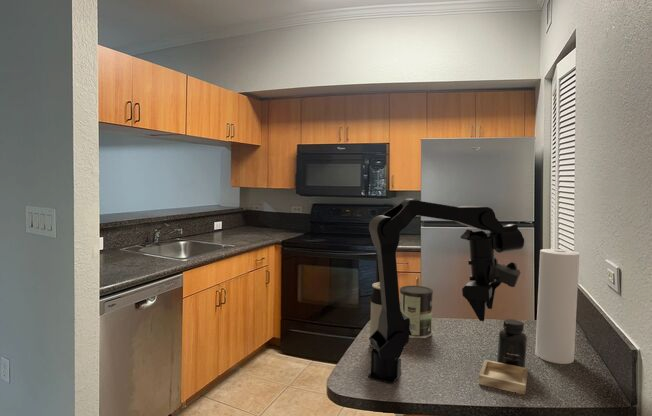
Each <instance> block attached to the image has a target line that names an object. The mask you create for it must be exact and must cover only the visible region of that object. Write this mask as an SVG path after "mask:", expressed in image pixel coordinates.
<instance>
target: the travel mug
mask: <svg viewBox="0 0 652 416" xmlns="http://www.w3.org/2000/svg"><path fill="white" fill-rule="evenodd" d="M371 286H372V289H373V290H372V293H371V294H370V320H369V321H370V324H369V326H370V329H369V331H370V332H369V333H370V334H369V337H370V336H371V335H372V334H373V333H374V332H375V331H376V330H377V329H378V324H379V317H380V313H381V310H382V302H381V290H380V281H377V282H373V283H372V285H371ZM369 344H370V346H371V348H374V347H373V346H372V345H371V343H370V342H369Z"/></svg>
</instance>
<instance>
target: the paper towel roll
mask: <svg viewBox="0 0 652 416" xmlns="http://www.w3.org/2000/svg"><path fill="white" fill-rule="evenodd" d="M579 268H580V252H578V251H574V250H569V249H560V248H544V249H540V250H539V267H538V270H539V271H538V287H537V288H538V289H537V290H538V291H537V310H536V311H537V313H536V330H535V331H536V332H535V350H534V351H535V353H534V355H535V356H536V357H538V358H539V357H540V358H539V359H541V360H543V361H546V362H550V363H553V364H558V365H559V364H561V365H568V364H571V363H574V361H575V346H576V345H575V342H576V329H577V328H576V324H577V309H578V308H577V307H578V306H577V305H578V287H579V272H580V270H579Z"/></svg>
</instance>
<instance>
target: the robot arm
mask: <svg viewBox="0 0 652 416" xmlns="http://www.w3.org/2000/svg"><path fill="white" fill-rule="evenodd" d="M418 216H419V217H427V218H433V219H439V220H445V221H451V222H452V221H453V222H455V223H457V224H459V225H463V226H466V227H469V228H471V229H468V228H467V229H466V230H465V232H464V233H463V234H462V235H460V239H462V240H465V241H468V244H469V254H470V255H469V258H470V259H468V261H467V262H468V265H469V266H470V270H471V271H470V272H471V274H470V275H469V282H468V281H467V283H466V284H465V285H464V286H463V287H462V289H461V293H462V294H461V295H462V297H464V299H466V300H467V302H468V303H469V305H470V307H471V308H472V310H473V312H474V314H475V315H476V317H477V319H478V320H479V321H480V322H484V321H485V318H486V312H487V311H486V310H487V309H488V310H492V309H493V307H494V301H495V296H496V292H497V291H496V290H497V288H499V287H500V286H501V284H502V283H503V284H505V285H507V286H508V287H509V288H510V287H511V288H515V287H516V285H517V284H518V281H519V277H520V274H521V271H520V269H518V265H517V263H516V262H513V261H510V262H508V263H507V264H500V263H499V262H498V258H497V257H495V251H496V252H497V253H505V252H506V253H508V252H515V251H520V250H522V249H523V248H524V245H525V237H524V236H523V234H522V232H521V231H520V229H518V224H515V223H509V224H505V225H502V223H501V222H500V221H499V219H498V218H496V213H495V212H494V209H493V208H492V207H488V206H482V205H481V206H480V205H460V206H454V205H447V204H440V203H435V202H428V201H421V200H419V199H416V198H405V199H404V200H403V201H401V202H400V203H398V204H397V205H396V206H393V207H392V208H390V209H389V210H387V211H385V212H384V213H383V214H382V215H376V216H374V217H372V219H371V220H370V221H369V224H368V230H369V233H370V238H371V242H372V245H373V246H374V249H375V252H376V254H377V266H378V276H379V277H378V278H379V282H380V290H381V302H382V310H381V313H380V317H379V324H378V329H377V330H376V331H375V332H374V333H373V334H372V335H371V336H370V335H369V338H368V339H369V344H370V343H371V345H372V346H373V347H372V346H371V345H370V346H371V347H372V349H371V350H370V372H369V373H368V375H367V378H369V379H372V380H376V381H380V382H383V383H386V384H387V383H388V384H394V383H395V382H396V380H397V379H398V378H399V377H400V376H401V374H402V371H401V369H402V359H401V355H402V353H403V351H404V348H405V347H406V345H407V344H409V341H410V337H409V335H412V334H411V332H410V319H409V318H408V317H407V316H406V315H405V314H403V313H402V312H401V310H400V287H399V277H398V276H399V275H398V266H397V255H396V254H397V250H398V247H399V245H400V239H401V238H400V237H401V231H403V230H404V229H405V228H406V227H408V226H409V224H410V223H411V222H412V221H413V219H414V218H416V217H418ZM472 228H473V229H477V231H473V230H472ZM485 231H487V232H485Z"/></svg>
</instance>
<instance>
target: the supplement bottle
mask: <svg viewBox="0 0 652 416" xmlns="http://www.w3.org/2000/svg"><path fill="white" fill-rule="evenodd" d="M524 324H525V323H524V322H523V321H520V320H519V319H514V318H505V319H504V320H503V324H502V329H500V330H499V332H498V337H497V338H498V339H497V341H498V342H497V355H496V356H497V357H496V358H497V359H496V362H499V363H504V364H509V365H514V366H519V367H524V368H526V364H527V363H526V362H527V361H526V360H527V349H528V348H527V346H528V336H527V335H526V333H525V331H524V330H525V328H524Z"/></svg>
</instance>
